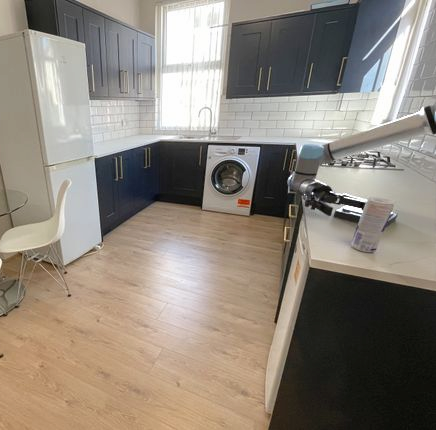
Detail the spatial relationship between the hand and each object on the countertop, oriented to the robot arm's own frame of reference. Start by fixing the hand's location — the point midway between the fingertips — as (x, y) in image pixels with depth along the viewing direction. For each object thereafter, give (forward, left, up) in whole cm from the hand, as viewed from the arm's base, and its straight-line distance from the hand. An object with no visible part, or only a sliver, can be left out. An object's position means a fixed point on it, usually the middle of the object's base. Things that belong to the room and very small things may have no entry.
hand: (354, 212), depth 84 cm
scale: (+2, -23, -8) cm, 25 cm away
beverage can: (-6, +5, -9) cm, 11 cm away
